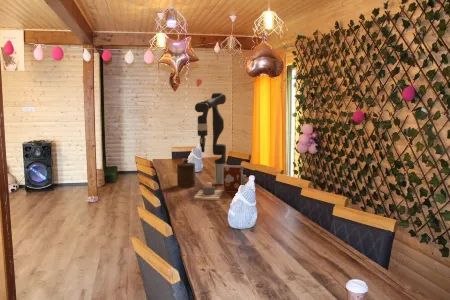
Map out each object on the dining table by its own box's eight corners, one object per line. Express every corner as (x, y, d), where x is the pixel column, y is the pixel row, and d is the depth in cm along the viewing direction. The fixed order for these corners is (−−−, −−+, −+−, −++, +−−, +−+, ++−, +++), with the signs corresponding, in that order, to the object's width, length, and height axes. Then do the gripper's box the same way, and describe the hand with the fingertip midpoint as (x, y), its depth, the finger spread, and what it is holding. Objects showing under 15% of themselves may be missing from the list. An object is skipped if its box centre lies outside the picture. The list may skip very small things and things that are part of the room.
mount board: (199, 191, 310) (199, 189, 310) (222, 192, 308) (222, 190, 308) (193, 199, 286) (193, 197, 286) (218, 200, 284) (218, 197, 284)
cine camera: (248, 193, 304) (248, 166, 302) (222, 192, 308) (222, 166, 306) (249, 190, 313) (249, 164, 311) (225, 189, 317) (224, 164, 314)
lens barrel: (204, 192, 301) (203, 185, 301) (215, 192, 300) (215, 185, 300) (202, 195, 293) (202, 188, 292) (213, 195, 292) (213, 188, 292)
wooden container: (193, 183, 342) (192, 157, 340) (197, 186, 328) (196, 160, 325) (176, 184, 338) (175, 158, 336) (179, 188, 324) (178, 161, 321)
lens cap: (206, 192, 300) (206, 182, 299) (212, 193, 299) (212, 182, 298) (205, 194, 295) (205, 183, 294) (211, 194, 295) (211, 183, 294)
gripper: (199, 128, 313) (199, 150, 315) (196, 130, 300) (196, 153, 302) (208, 128, 312) (209, 150, 314) (206, 130, 299) (206, 153, 301)
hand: (203, 152), depth 308 cm, fingers closed
